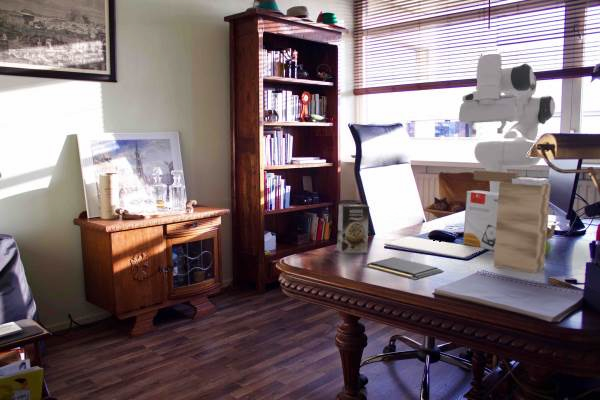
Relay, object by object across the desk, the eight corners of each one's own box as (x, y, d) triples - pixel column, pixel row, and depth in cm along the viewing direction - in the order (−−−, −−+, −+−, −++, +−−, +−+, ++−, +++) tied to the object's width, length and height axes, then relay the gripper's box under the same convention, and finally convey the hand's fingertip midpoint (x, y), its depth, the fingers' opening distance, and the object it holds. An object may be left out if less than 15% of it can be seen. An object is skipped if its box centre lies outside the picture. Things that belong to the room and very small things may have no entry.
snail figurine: (550, 258, 174) (553, 222, 173) (530, 254, 179) (533, 220, 177) (555, 255, 178) (558, 220, 177) (536, 252, 183) (538, 218, 181)
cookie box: (341, 254, 175) (343, 206, 173) (336, 249, 181) (338, 203, 179) (367, 253, 176) (369, 206, 174) (361, 249, 183) (363, 203, 181)
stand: (504, 260, 170) (510, 180, 167) (544, 266, 162) (550, 183, 159) (493, 265, 163) (499, 182, 159) (534, 273, 155) (541, 185, 151)
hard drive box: (462, 244, 193) (465, 191, 191) (473, 242, 198) (476, 189, 196) (501, 252, 182) (505, 195, 179) (512, 249, 187) (516, 194, 184)
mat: (408, 237, 205) (408, 236, 205) (484, 249, 185) (484, 248, 185) (384, 244, 191) (384, 243, 191) (463, 258, 172) (463, 257, 172)
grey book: (446, 267, 155) (414, 276, 145) (445, 273, 155) (413, 282, 145) (393, 254, 170) (361, 261, 160) (393, 260, 170) (360, 267, 160)
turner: (480, 178, 172) (481, 169, 172) (548, 183, 159) (549, 173, 159) (469, 180, 166) (470, 170, 165) (539, 185, 152) (540, 175, 152)
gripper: (519, 96, 189) (518, 134, 189) (463, 100, 201) (462, 136, 200) (515, 92, 184) (514, 131, 183) (458, 97, 196) (456, 133, 195)
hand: (486, 133), depth 192 cm, fingers open, 8 cm apart
